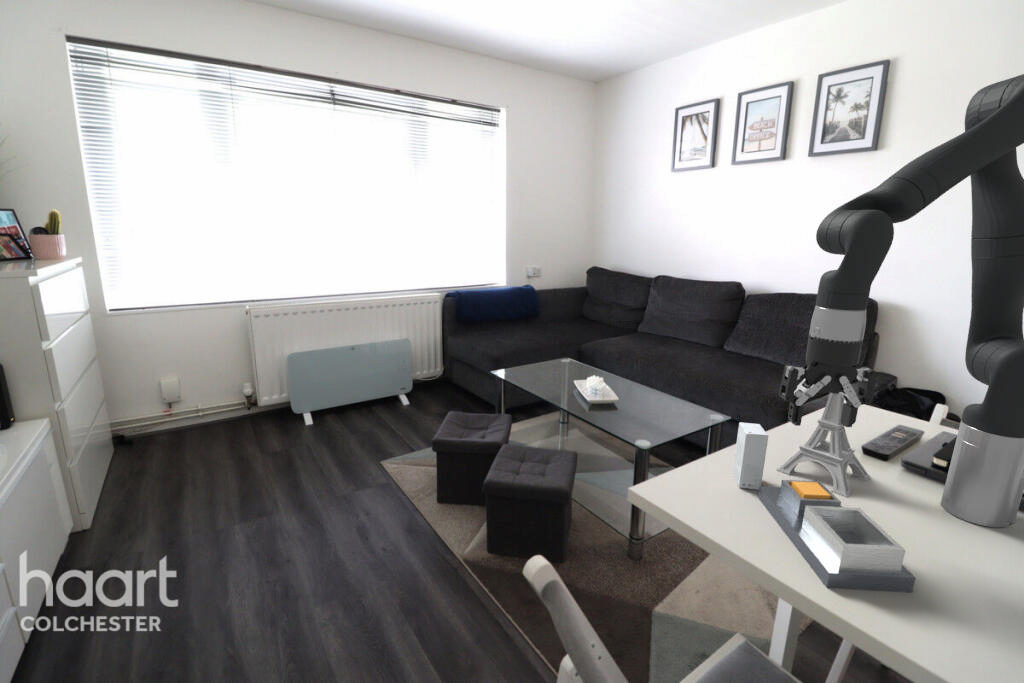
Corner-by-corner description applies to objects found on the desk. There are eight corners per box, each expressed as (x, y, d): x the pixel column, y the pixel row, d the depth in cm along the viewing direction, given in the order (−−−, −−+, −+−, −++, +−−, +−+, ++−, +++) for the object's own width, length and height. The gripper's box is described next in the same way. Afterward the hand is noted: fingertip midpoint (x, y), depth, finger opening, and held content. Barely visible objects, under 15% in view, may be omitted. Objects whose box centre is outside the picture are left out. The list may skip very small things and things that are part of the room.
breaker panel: (821, 500, 94) (827, 470, 92) (912, 592, 70) (921, 553, 69) (758, 497, 94) (762, 467, 93) (826, 587, 71) (833, 549, 70)
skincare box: (761, 490, 97) (769, 435, 94) (738, 488, 98) (745, 433, 95) (752, 475, 103) (760, 423, 100) (731, 473, 104) (738, 421, 101)
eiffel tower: (802, 453, 113) (823, 328, 106) (869, 477, 103) (897, 340, 96) (776, 471, 105) (796, 337, 98) (846, 498, 95) (874, 350, 88)
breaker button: (814, 496, 89) (816, 482, 89) (827, 510, 85) (830, 495, 84) (789, 495, 90) (792, 481, 89) (801, 509, 86) (804, 494, 85)
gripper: (866, 330, 83) (849, 417, 87) (780, 328, 84) (768, 415, 88) (896, 340, 76) (877, 435, 80) (803, 338, 77) (788, 432, 81)
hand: (820, 424), depth 84 cm, fingers open, 8 cm apart
